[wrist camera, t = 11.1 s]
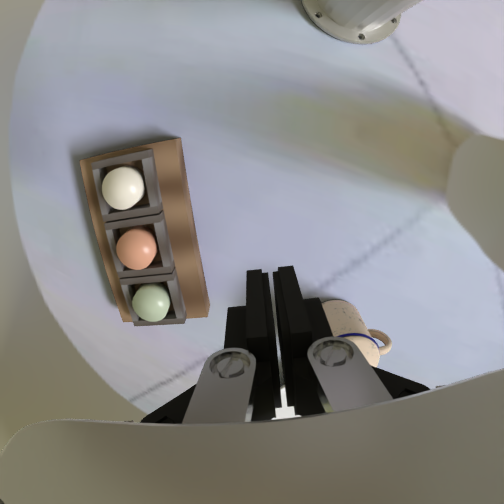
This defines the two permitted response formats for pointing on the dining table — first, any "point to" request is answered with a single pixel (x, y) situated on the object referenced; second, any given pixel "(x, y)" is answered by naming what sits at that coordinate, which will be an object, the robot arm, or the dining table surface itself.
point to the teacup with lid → (355, 330)
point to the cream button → (124, 187)
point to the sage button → (152, 301)
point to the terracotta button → (137, 247)
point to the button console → (159, 221)
